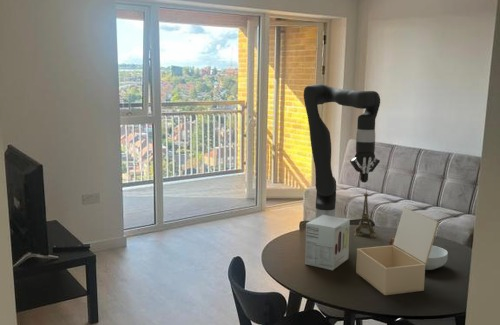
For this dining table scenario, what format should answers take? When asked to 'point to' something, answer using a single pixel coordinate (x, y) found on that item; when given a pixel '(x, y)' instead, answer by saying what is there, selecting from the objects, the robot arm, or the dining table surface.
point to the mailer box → (390, 270)
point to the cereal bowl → (435, 258)
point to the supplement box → (327, 241)
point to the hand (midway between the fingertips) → (364, 182)
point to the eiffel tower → (364, 216)
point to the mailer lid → (415, 234)
